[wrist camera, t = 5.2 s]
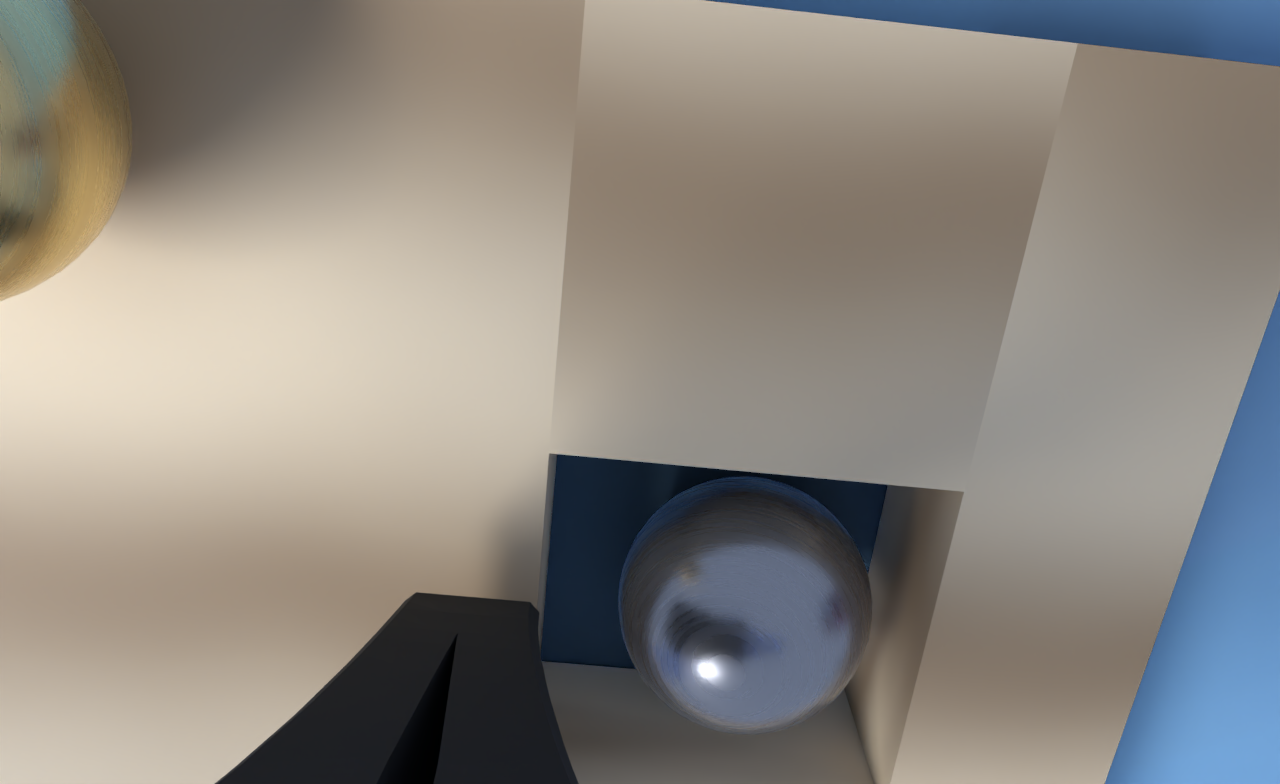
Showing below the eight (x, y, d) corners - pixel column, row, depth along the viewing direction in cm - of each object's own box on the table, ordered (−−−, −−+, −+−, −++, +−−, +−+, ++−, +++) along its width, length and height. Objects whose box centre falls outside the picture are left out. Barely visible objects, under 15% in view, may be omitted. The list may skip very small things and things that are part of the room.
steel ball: (849, 666, 14) (838, 823, 11) (637, 614, 15) (573, 751, 12) (896, 467, 13) (899, 583, 10) (664, 419, 14) (603, 516, 11)
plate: (936, 967, 17) (985, 1118, 15) (-68, 896, 16) (-186, 1046, 14) (1209, 62, 12) (1356, 75, 9) (-281, -110, 11) (-531, -142, 8)
